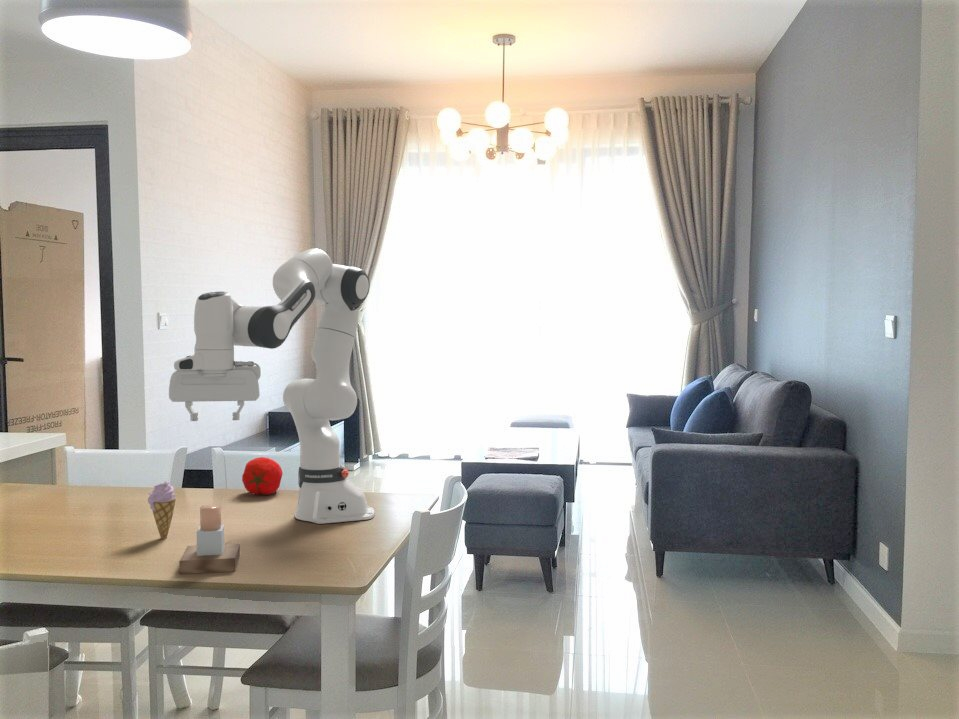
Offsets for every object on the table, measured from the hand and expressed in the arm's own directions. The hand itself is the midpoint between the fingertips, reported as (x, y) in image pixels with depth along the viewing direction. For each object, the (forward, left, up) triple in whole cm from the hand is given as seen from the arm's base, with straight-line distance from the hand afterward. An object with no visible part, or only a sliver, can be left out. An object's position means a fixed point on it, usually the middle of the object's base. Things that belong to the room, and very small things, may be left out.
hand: (215, 420), depth 201 cm
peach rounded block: (+1, +4, -25) cm, 25 cm away
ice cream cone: (+16, -21, -33) cm, 42 cm away
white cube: (+1, +4, -30) cm, 30 cm away
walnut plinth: (+1, +4, -33) cm, 33 cm away
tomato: (-6, -70, -33) cm, 78 cm away
